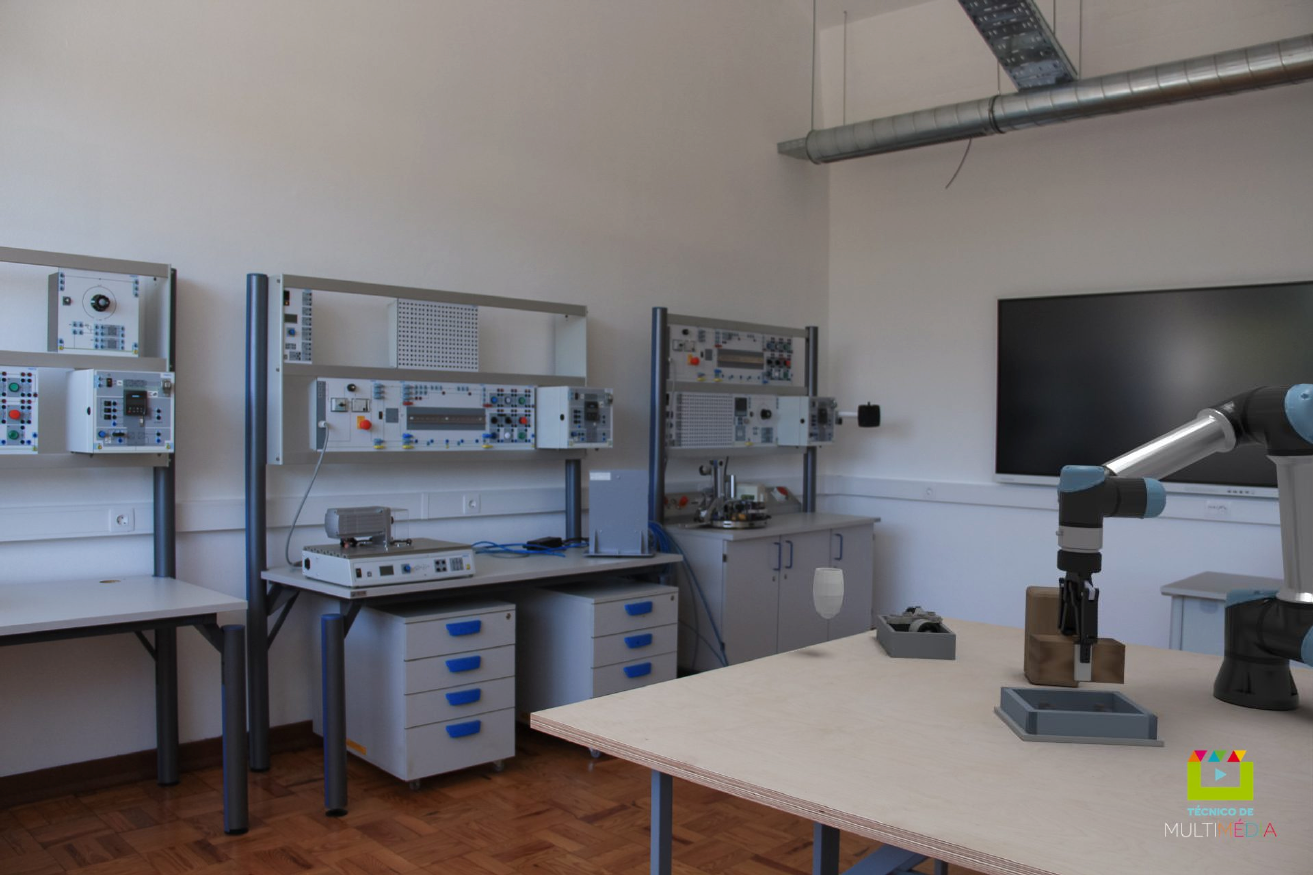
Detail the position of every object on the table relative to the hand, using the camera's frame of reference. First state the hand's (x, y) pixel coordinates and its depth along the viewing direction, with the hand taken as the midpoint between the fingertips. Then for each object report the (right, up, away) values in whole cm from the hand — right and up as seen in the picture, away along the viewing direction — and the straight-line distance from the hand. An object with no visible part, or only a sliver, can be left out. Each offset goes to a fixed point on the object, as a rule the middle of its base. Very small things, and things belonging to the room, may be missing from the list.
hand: (1075, 675), depth 181 cm
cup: (-37, -9, +53) cm, 65 cm away
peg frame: (0, -10, 0) cm, 10 cm away
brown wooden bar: (0, 0, 0) cm, 0 cm away
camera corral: (-13, -9, +64) cm, 66 cm away
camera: (-12, -9, +64) cm, 66 cm away
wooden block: (+9, -10, +35) cm, 38 cm away
